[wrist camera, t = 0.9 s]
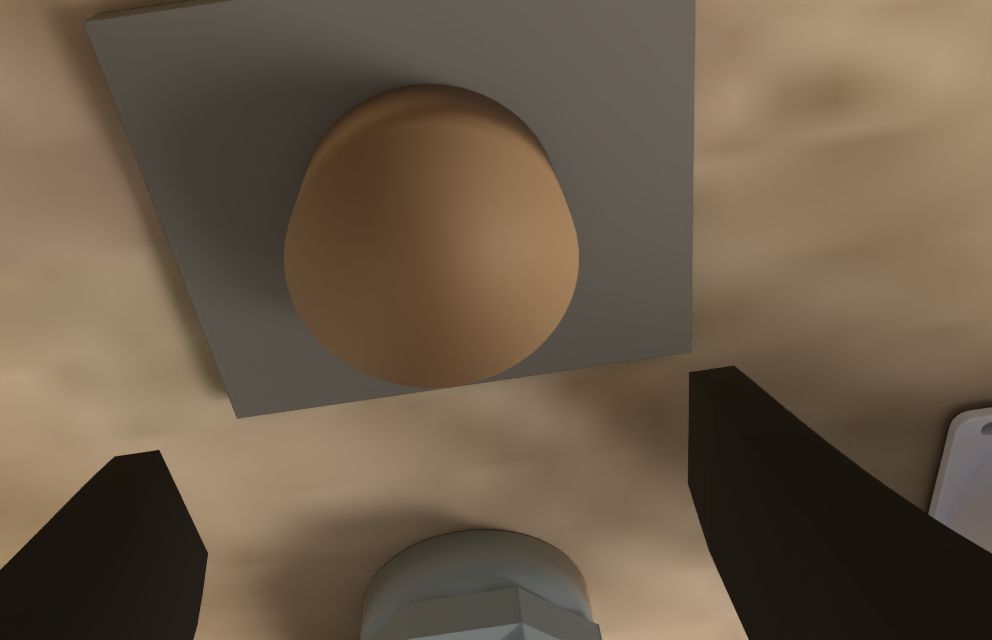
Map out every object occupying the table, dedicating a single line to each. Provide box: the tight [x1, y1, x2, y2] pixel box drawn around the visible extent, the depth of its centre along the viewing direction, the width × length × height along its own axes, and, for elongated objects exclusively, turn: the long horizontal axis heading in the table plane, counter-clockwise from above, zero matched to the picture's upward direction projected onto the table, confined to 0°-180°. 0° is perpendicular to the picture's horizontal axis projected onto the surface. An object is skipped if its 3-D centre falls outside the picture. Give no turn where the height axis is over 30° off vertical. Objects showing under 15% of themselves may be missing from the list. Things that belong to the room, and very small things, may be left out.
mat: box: [83, 0, 695, 419], centre depth 18 cm, size 12×10×1 cm
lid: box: [284, 84, 579, 388], centre depth 17 cm, size 6×6×3 cm
